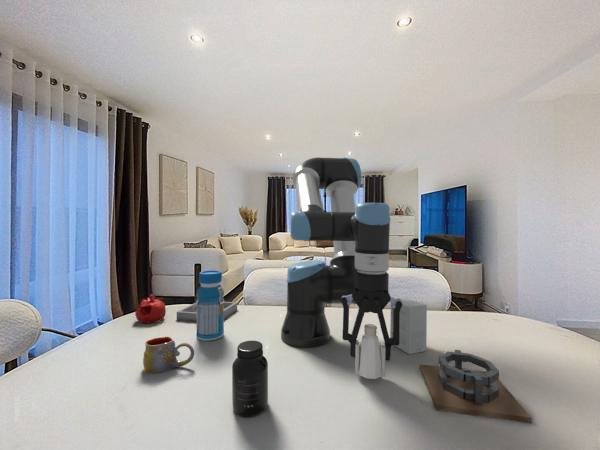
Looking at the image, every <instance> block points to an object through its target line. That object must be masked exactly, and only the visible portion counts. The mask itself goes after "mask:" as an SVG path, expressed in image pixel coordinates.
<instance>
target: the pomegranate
mask: <svg viewBox="0 0 600 450" xmlns="http://www.w3.org/2000/svg"><path fill="white" fill-rule="evenodd" d="M163 299H164V298H163V297H159V298H156V299H155V296H154V295H153V294H150V295H149V297H146V298H145V299H143V300H142V299H140V300H139V302H140V303H139V305H138V306H137V309H136V311H135V318H136V320H137V321H138V322H139V323H143V324H151V323H152V324H153V323H157V322H159V321H162V320H163V319H164V318H165V317H166V313H167V311H166V304H165V303H164V302H163V301H162V300H163Z"/></svg>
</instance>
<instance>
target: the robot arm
mask: <svg viewBox="0 0 600 450" xmlns="http://www.w3.org/2000/svg"><path fill="white" fill-rule="evenodd" d="M361 184H362V169H361V166H360V163H359V161H358V160H357V159H356V158H352V157H351V158H349V157H342V158H341V157H318V156H317V157H312V158H308V159H307V160H305V161H303V162H302V163H300V164H299V165H298V166H297V167H296V168H295V170H294V172H293V173H292V185H293V187H294V189H295V194H296V195H295V198H296V211H293V212H292V213H291V214H290V238H291V239H292V240H293V241H303V242H327V241H329V242H332V243H333V254H334V256H333V257H332V258H331V259H330V261H329V265H326V262H325V261H324V260H317V259H316V260H314V259H313V260H305V261H299V262H296V263H292V264H291V265H290V266H289V267H288V269H287V274H286V275H287V278H286V283H287V285H286V286H287V287H286V288H287V291H286V292H287V294H286V314H285V318H284V320H283V323H282V327H281V328H280V329H281V330H280V339H281V340H282V342H284V343H286V344H287V345H290V346H293V347H297V348H298V347H299V348H315V347H319V346H323V345H325V344H327V343H328V342H330V340H331V330H330V327H329V323H328V320H327V316H326V314H325V313H326V311H325V305H327V304H330V305H333V304H334V305H337V304H338V305H342V307H343V310H342V311H343V313H342V340H343V341H347V342H349V344H350V346H349V348H350V349H349V352H350V357H352V358H355V359H354V360H355V361H354V373H355V374H359V360H360V340H358V336H359V332H360V329H361V325H362V322H363V319H364V316H365V314H366V313H367V314H368V313H373V314H377V318H378V323H379V325H380V329H381V333H382V336H383V337H382V338H383V341H384V342H380V363H381V377H384V378H385V377H386V361H387V362H390V360H391V356H392V355H391V351H392V350H391V348H392V347H393V346H395V345H396V346H397V345H399V323H400V310H401V307H402V302H401V300H400V299H401V298H396V297H392V296H391V295H390V292H389V278H390V277H389V276H390V275H389V273H388V271H389V270H390V269H389V267H390V262H389V261H390V258H389V257H390V231H391V230H390V224H391V217H390V216H391V215H390V206H389V204H388V203H386V202H359V203H357V204H356V203H355V202H356V200H355V195H356V193H357V191H358V189H359V188H361ZM320 190H325V194H326V196H328V197H329V199H330V200H329V201H330V211H325V210H324V205H323V201H322V197H321V192H320ZM389 303H390V308H391V307H392V308H393V337H392V338H390V335H389V332H388V328H387V322H386V319H385V315H384V313H383V312H384V311H383V310H384V309H385V307H386V306H387V305H388V304H389ZM353 304H354V305H357V307H358V310H357V311H358V312H357V314H356V317H355V321H354V325H353V327H352V328H353V329H352V331H351V333H349V330H350V329H349V326H350V325H349V323H350V321H349V320H350V306H351V305H353ZM396 346H395V347H396Z"/></svg>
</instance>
